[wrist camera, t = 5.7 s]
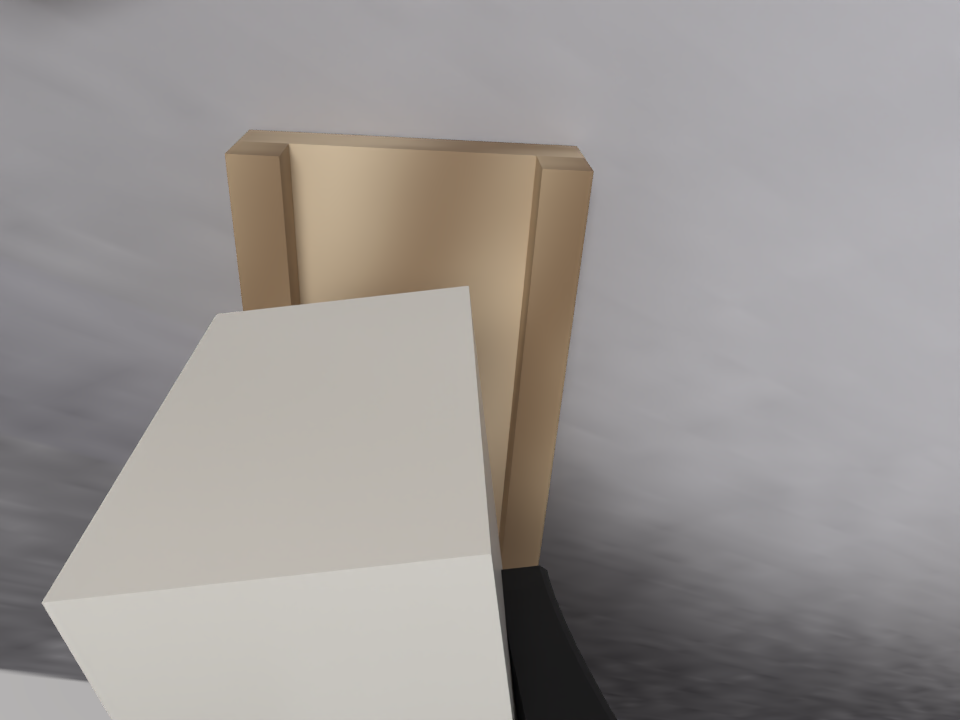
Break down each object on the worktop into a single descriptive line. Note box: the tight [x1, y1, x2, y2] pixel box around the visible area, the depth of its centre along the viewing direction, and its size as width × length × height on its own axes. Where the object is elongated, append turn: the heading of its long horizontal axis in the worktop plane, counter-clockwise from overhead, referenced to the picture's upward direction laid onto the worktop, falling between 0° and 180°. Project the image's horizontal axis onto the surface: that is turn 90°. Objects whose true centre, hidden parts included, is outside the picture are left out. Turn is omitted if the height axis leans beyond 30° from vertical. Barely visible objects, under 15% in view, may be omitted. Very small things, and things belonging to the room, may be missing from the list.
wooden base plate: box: [225, 130, 594, 569], centre depth 17 cm, size 7×11×2 cm, turn 176°
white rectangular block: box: [42, 286, 518, 720], centre depth 10 cm, size 10×4×5 cm, turn 6°
